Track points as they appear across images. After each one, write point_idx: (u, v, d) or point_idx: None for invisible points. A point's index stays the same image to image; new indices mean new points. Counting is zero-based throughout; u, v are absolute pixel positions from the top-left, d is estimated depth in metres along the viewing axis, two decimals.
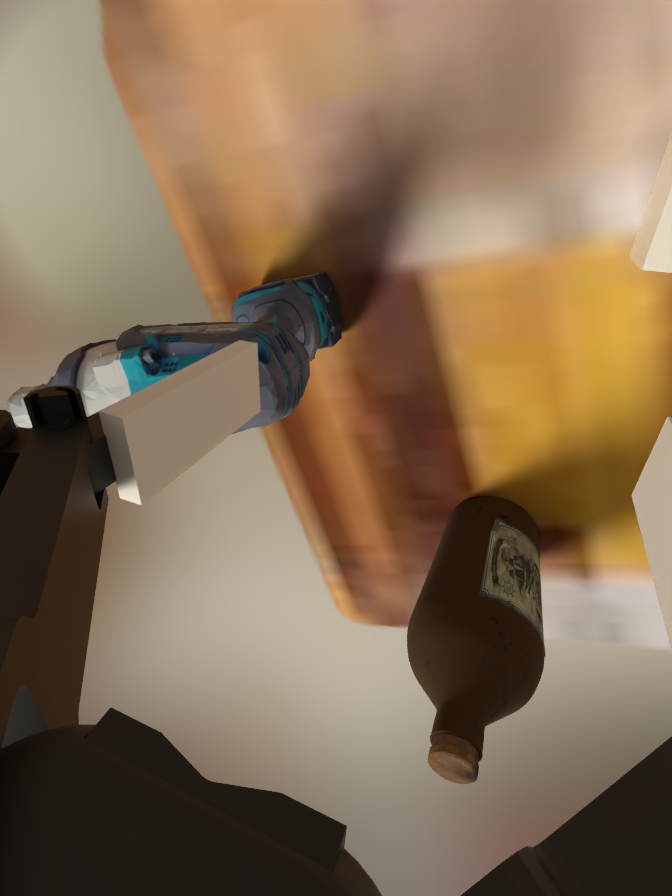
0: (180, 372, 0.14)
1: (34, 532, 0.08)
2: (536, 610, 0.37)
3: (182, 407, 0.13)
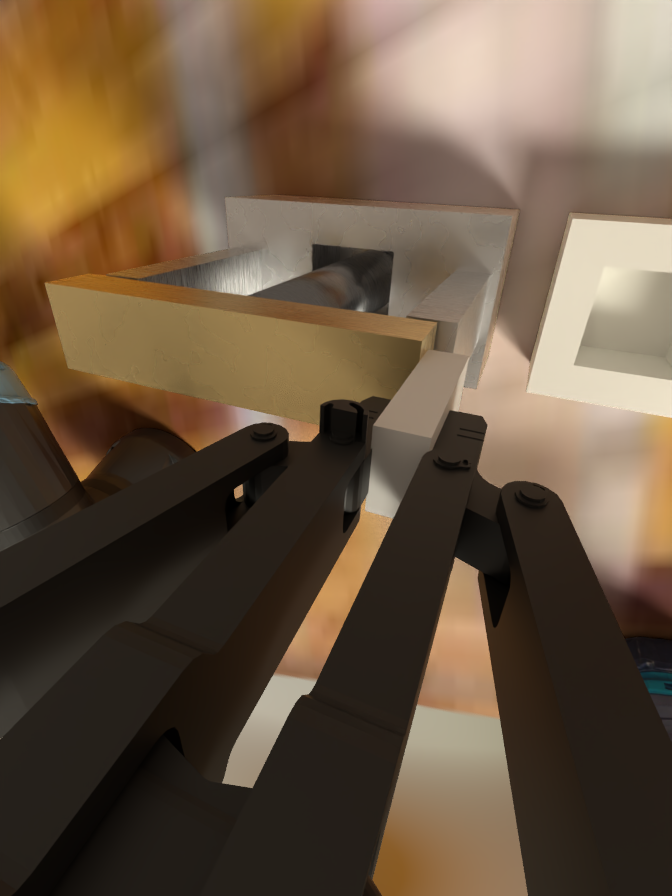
0: (407, 383, 0.14)
1: (266, 550, 0.08)
2: None
3: None
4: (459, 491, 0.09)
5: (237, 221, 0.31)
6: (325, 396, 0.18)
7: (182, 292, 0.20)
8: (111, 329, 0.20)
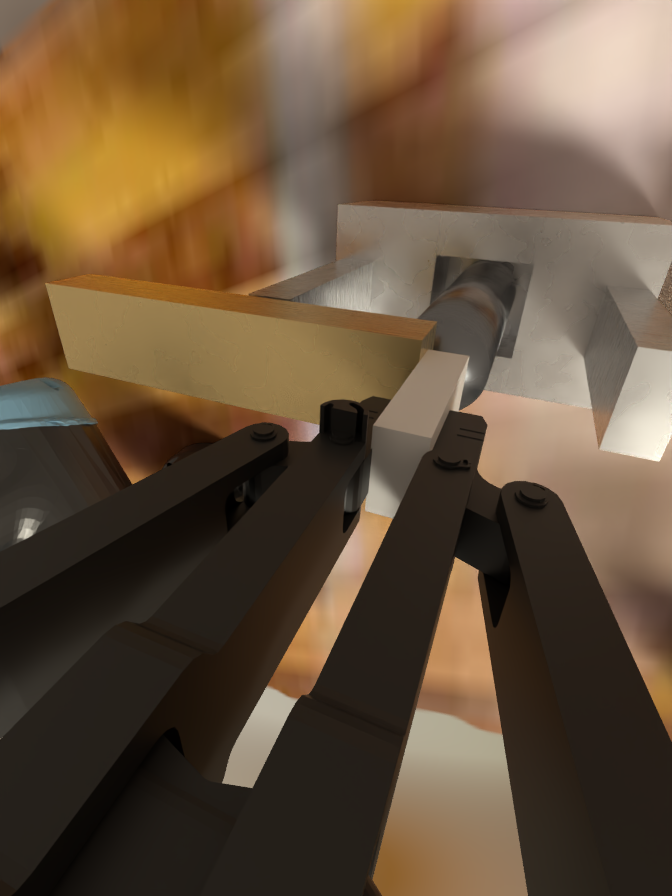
0: (408, 383, 0.14)
1: (265, 550, 0.08)
2: None
3: None
4: (459, 491, 0.09)
5: (349, 230, 0.28)
6: (326, 396, 0.18)
7: (182, 292, 0.20)
8: (111, 329, 0.20)
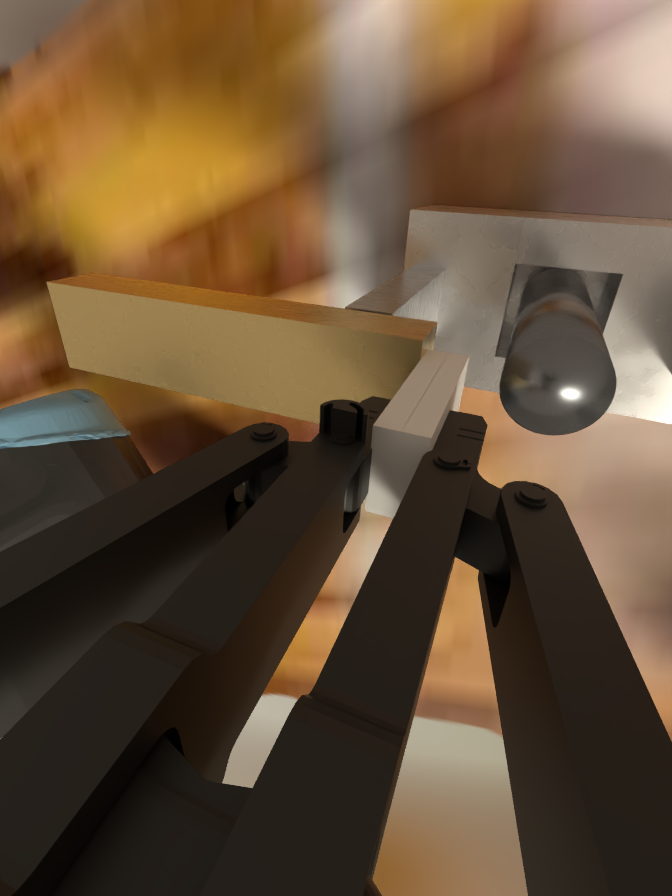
0: (408, 383, 0.14)
1: (265, 550, 0.08)
2: None
3: None
4: (459, 491, 0.09)
5: (421, 237, 0.27)
6: (327, 395, 0.18)
7: (184, 291, 0.20)
8: (112, 328, 0.20)
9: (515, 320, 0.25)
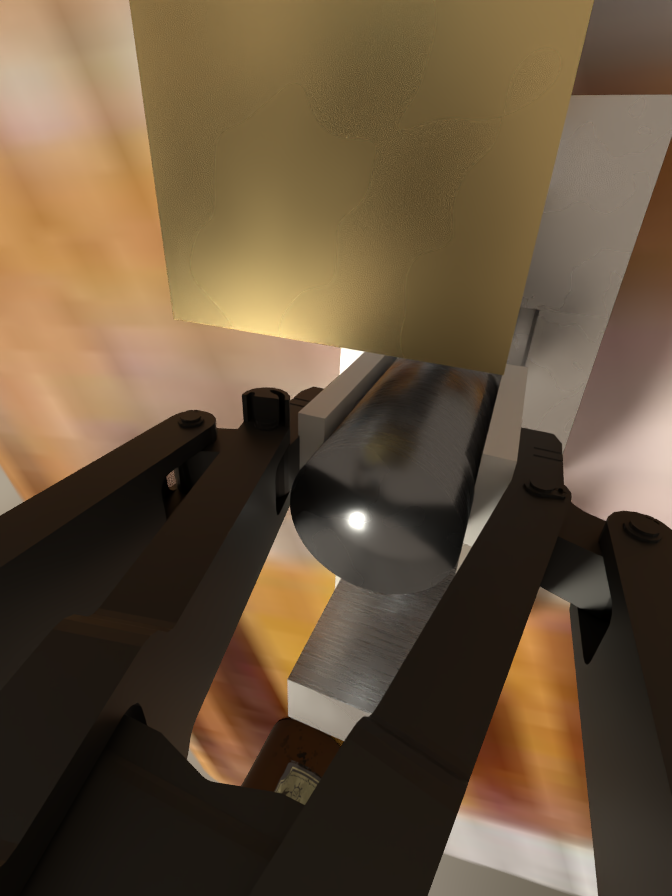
0: (344, 374, 0.14)
1: (205, 534, 0.08)
2: None
3: (352, 408, 0.14)
4: (550, 522, 0.09)
5: (620, 130, 0.14)
6: None
7: None
8: None
9: None
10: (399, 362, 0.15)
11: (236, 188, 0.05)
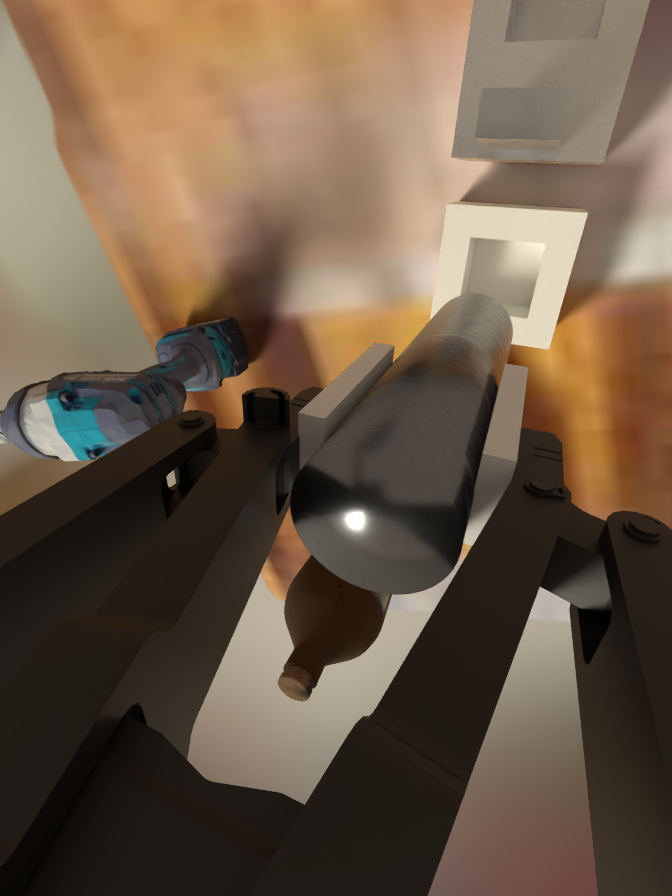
0: (344, 374, 0.14)
1: (205, 534, 0.08)
2: None
3: (352, 408, 0.14)
4: (550, 522, 0.09)
5: None
6: None
7: None
8: None
9: (457, 338, 0.16)
10: (399, 362, 0.15)
11: None
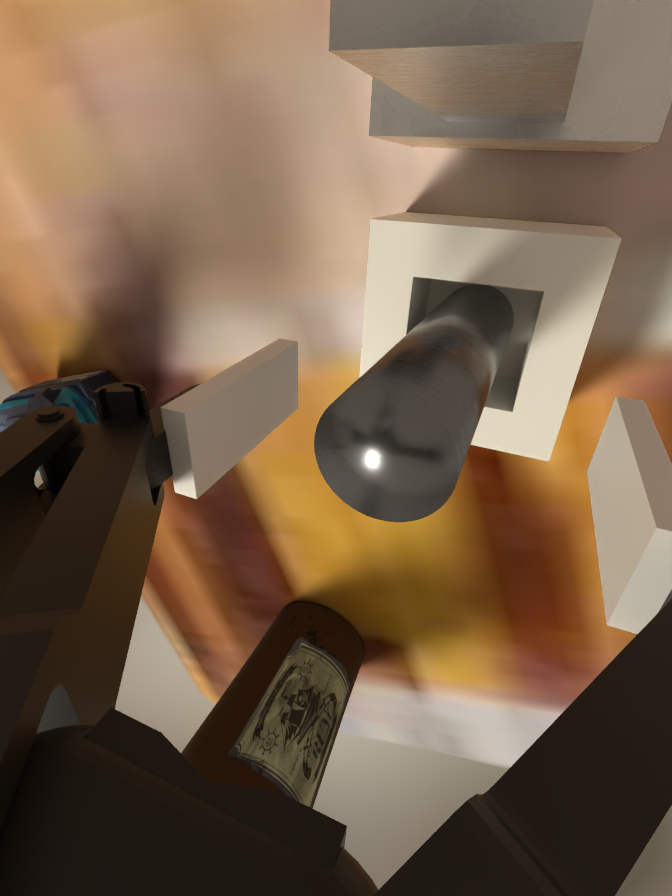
0: (230, 369, 0.14)
1: (88, 527, 0.08)
2: (303, 763, 0.33)
3: (234, 404, 0.14)
4: None
5: None
6: None
7: None
8: None
9: (460, 316, 0.18)
10: (408, 335, 0.17)
11: None
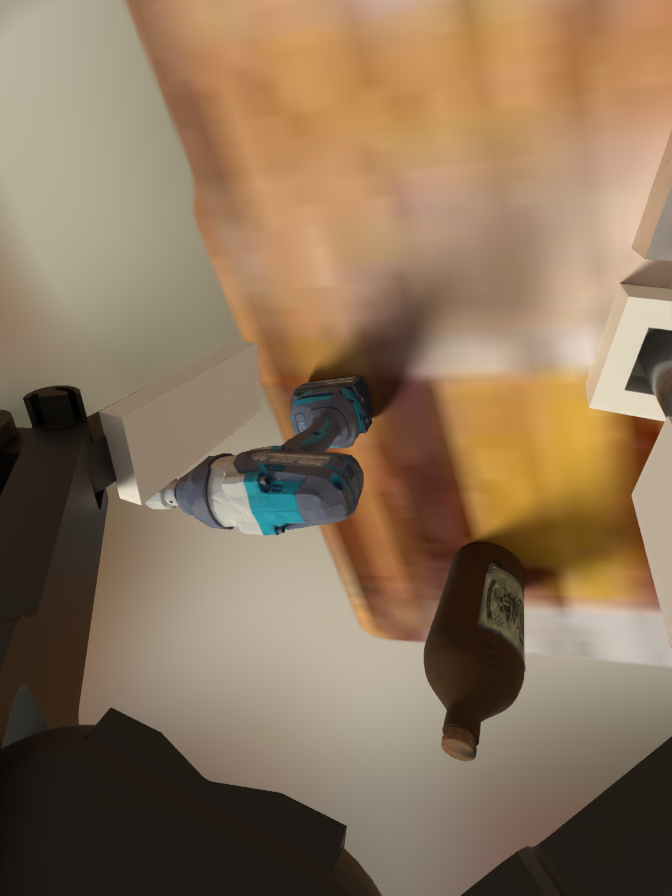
0: (180, 372, 0.14)
1: (34, 532, 0.08)
2: (519, 636, 0.50)
3: (182, 407, 0.13)
4: None
5: None
6: None
7: None
8: None
9: None
10: None
11: None
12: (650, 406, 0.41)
